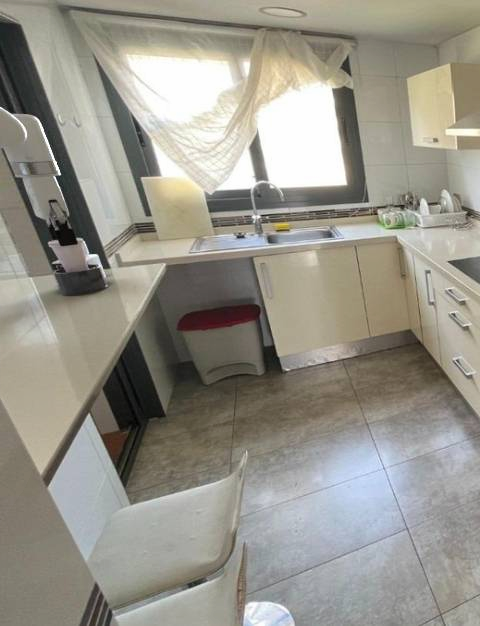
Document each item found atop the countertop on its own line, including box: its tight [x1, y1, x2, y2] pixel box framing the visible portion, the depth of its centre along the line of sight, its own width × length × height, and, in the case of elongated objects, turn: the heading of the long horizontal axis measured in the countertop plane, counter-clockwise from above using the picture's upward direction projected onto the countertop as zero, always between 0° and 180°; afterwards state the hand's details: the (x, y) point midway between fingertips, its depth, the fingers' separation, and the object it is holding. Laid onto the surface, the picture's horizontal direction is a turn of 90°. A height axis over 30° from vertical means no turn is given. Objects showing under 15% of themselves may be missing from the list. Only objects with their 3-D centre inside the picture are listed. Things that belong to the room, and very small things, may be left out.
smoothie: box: [47, 237, 88, 273], centre depth 117 cm, size 6×6×14 cm
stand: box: [51, 264, 109, 297], centre depth 120 cm, size 9×9×6 cm
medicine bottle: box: [51, 240, 107, 280], centre depth 125 cm, size 7×7×12 cm
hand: (65, 242), depth 116 cm, fingers closed on smoothie, 6 cm apart
